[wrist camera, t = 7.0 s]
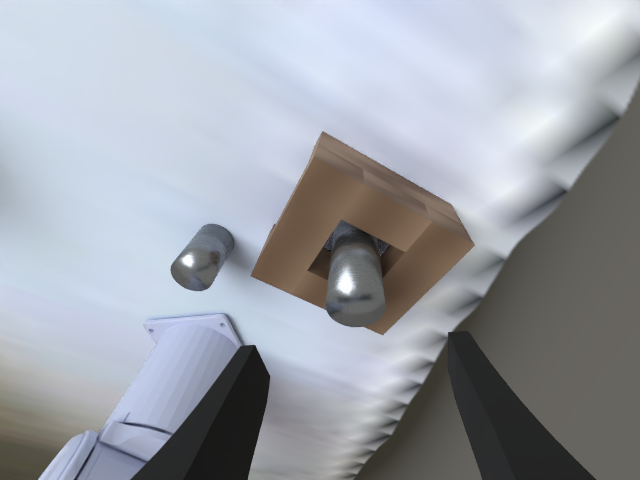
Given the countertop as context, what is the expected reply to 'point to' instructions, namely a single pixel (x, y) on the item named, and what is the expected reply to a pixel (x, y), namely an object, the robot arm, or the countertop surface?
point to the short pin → (203, 258)
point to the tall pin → (354, 278)
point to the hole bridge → (368, 215)
